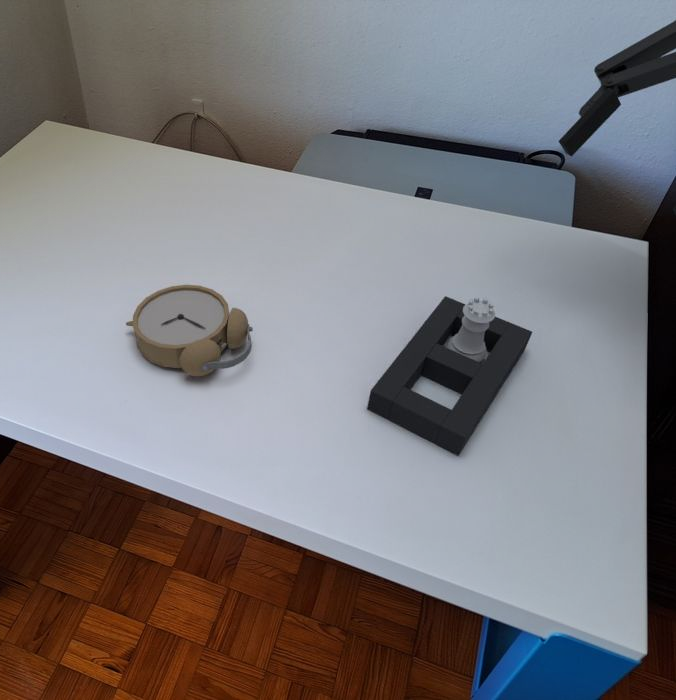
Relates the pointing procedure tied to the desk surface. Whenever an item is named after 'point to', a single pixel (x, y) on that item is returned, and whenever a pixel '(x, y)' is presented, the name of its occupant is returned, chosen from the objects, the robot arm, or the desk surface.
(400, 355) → the socket pad
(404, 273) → the desk surface
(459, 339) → the rook chess piece
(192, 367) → the alarm clock
